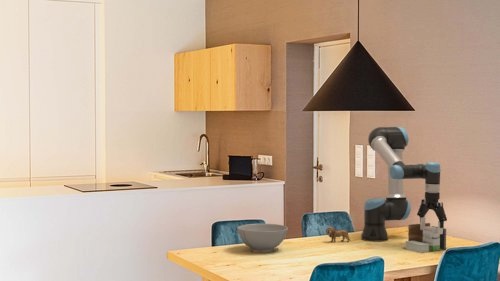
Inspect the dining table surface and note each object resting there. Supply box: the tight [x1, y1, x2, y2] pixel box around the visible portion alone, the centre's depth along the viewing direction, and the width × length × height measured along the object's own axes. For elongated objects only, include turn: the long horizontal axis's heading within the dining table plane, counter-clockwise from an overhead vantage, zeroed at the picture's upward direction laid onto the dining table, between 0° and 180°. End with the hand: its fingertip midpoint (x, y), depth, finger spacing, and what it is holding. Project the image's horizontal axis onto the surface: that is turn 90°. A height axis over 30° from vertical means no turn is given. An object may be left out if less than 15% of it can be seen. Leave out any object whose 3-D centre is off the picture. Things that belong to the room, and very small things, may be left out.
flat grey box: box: [404, 240, 430, 254], centre depth 379 cm, size 12×6×4 cm, turn 28°
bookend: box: [430, 225, 448, 251], centre depth 386 cm, size 10×2×11 cm, turn 28°
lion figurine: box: [325, 226, 351, 244], centre depth 409 cm, size 15×5×9 cm, turn 108°
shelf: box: [402, 222, 445, 254], centre depth 383 cm, size 16×19×13 cm
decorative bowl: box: [236, 223, 289, 253], centre depth 385 cm, size 27×27×12 cm
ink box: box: [423, 225, 440, 252], centre depth 382 cm, size 9×5×12 cm, turn 26°
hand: (431, 231), depth 382 cm, fingers open, 13 cm apart
